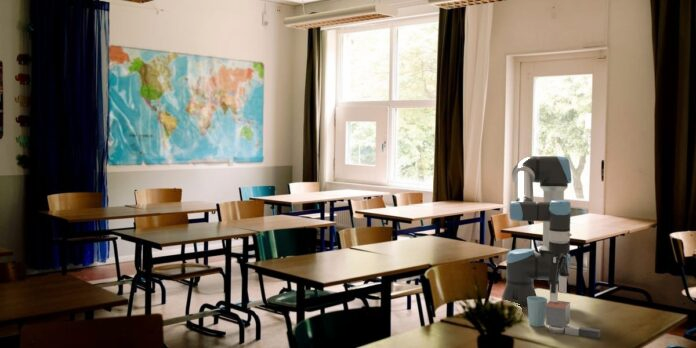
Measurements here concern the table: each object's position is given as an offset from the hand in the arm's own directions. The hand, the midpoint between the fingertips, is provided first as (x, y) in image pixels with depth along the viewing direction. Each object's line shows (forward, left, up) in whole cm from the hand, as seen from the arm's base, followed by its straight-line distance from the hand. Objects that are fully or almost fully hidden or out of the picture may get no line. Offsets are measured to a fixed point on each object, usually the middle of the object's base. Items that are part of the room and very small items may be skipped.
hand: (558, 297), depth 256 cm
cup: (-10, -3, -13) cm, 17 cm away
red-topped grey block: (+1, 0, -10) cm, 10 cm away
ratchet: (+5, +4, -13) cm, 14 cm away
